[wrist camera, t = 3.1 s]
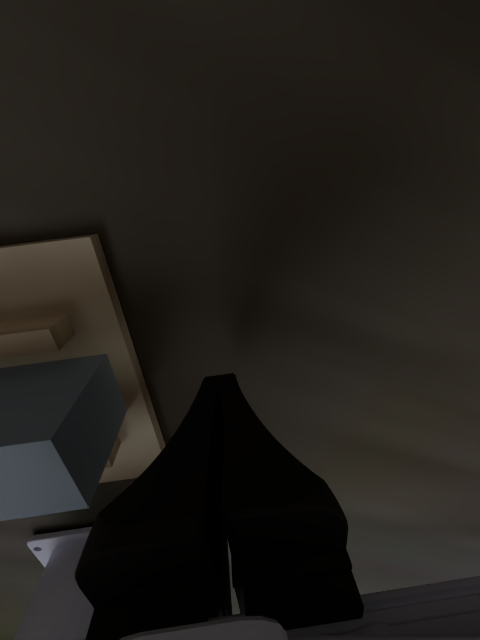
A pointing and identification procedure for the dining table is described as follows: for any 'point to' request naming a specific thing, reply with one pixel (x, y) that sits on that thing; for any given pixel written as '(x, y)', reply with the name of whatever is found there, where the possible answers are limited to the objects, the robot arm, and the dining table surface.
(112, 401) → the blue-grey rectangular block
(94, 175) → the dining table surface
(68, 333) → the shelf slot
